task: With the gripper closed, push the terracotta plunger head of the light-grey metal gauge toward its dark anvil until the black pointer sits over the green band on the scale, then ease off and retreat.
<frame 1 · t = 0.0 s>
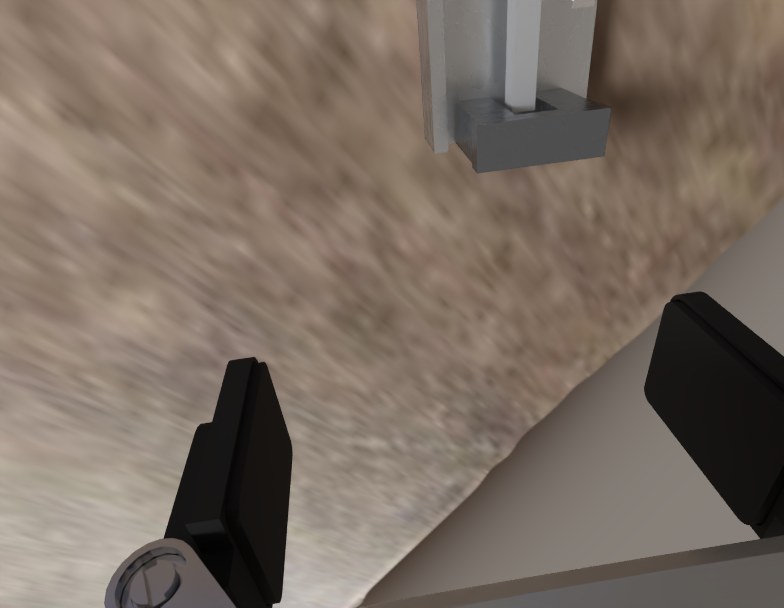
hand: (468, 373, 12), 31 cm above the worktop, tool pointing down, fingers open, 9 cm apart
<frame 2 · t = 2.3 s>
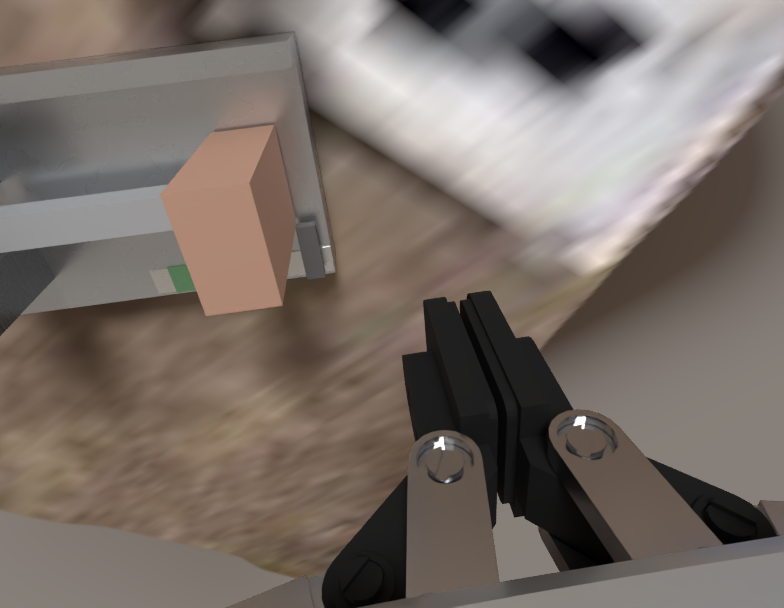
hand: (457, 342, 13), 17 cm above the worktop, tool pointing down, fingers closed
plunger: (140, 258, 22), point 7 cm above the worktop, slide at 0.0 cm
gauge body: (152, 177, 26), on the worktop
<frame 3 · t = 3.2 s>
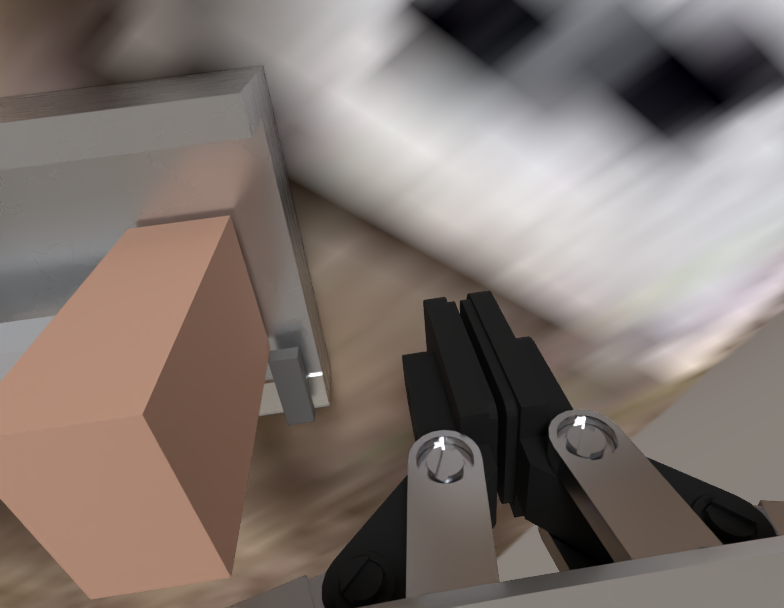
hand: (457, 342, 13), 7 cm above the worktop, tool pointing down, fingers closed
plunger: (5, 446, 13), point 7 cm above the worktop, slide at 0.0 cm
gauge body: (56, 277, 18), on the worktop
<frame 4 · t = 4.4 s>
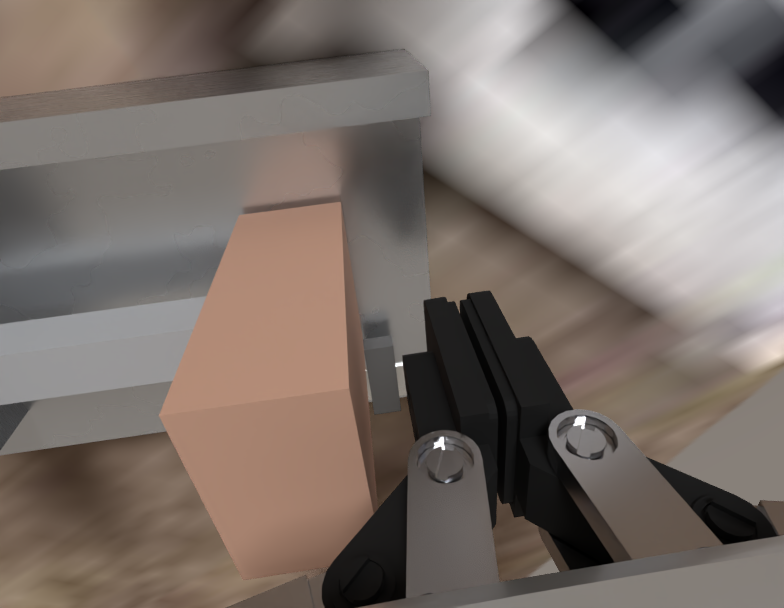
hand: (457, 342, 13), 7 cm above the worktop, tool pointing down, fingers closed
plunger: (125, 430, 13), point 7 cm above the worktop, slide at 1.0 cm, touching gripper
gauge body: (173, 262, 18), on the worktop
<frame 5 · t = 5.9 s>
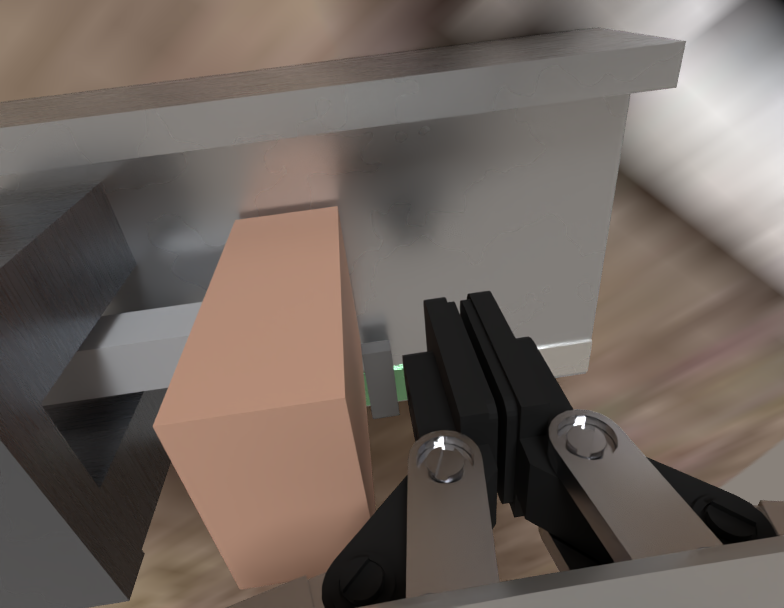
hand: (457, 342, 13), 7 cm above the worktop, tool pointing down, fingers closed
plunger: (121, 438, 13), point 7 cm above the worktop, slide at 7.1 cm
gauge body: (337, 243, 18), on the worktop
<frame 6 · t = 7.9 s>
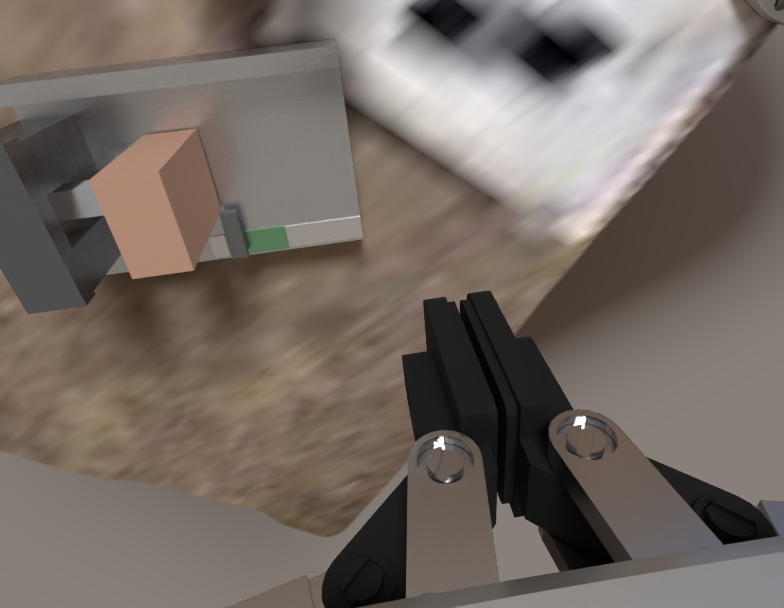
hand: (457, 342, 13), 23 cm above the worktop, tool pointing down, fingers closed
plunger: (84, 237, 27), point 7 cm above the worktop, slide at 7.1 cm
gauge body: (211, 159, 32), on the worktop
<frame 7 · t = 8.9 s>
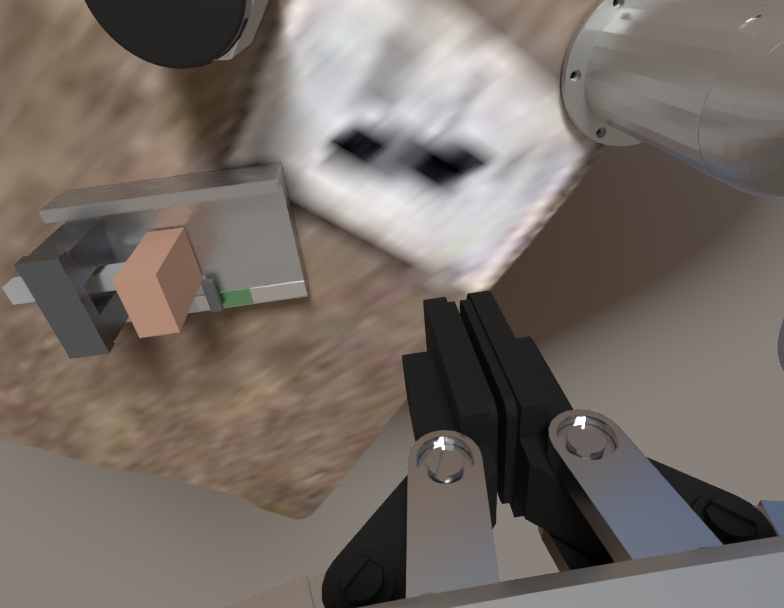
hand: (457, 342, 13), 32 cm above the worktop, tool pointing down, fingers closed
plunger: (107, 305, 39), point 7 cm above the worktop, slide at 7.1 cm
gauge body: (196, 240, 44), on the worktop
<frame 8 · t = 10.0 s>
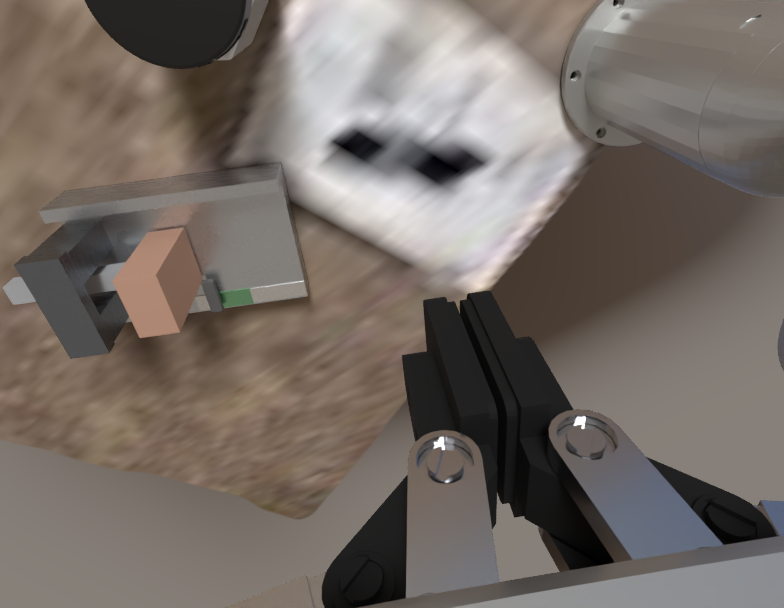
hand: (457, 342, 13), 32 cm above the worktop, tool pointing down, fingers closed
plunger: (107, 305, 39), point 7 cm above the worktop, slide at 7.1 cm
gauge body: (196, 241, 44), on the worktop
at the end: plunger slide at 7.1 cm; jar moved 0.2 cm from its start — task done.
